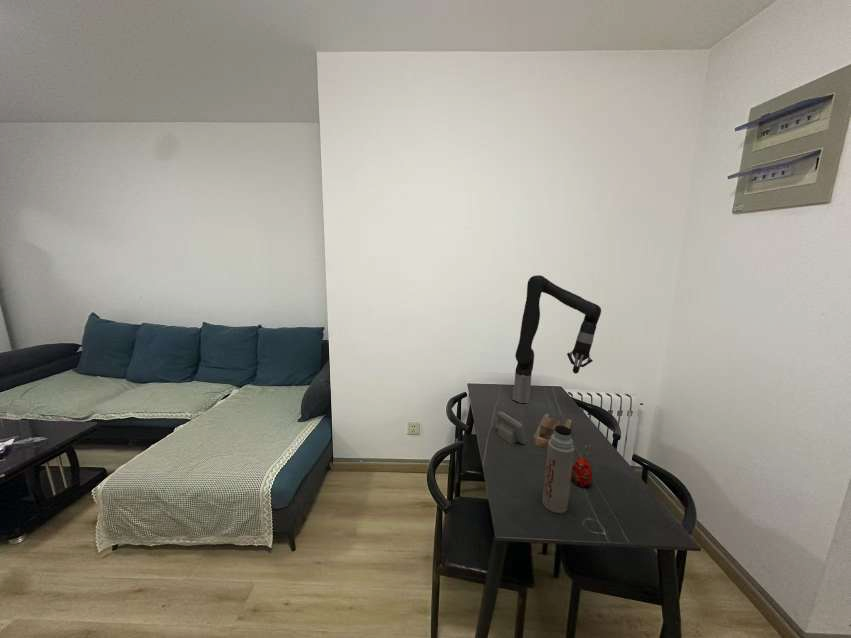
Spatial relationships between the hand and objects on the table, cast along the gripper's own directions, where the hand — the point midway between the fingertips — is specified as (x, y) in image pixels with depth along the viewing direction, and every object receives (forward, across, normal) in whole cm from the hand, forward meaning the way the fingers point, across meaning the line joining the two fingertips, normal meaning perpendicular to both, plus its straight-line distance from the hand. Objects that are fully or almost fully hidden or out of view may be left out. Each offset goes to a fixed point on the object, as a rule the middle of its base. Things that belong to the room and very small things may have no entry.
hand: (575, 373), depth 167 cm
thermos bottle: (+34, +13, -67) cm, 76 cm away
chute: (+29, 0, -20) cm, 35 cm away
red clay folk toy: (+31, +18, -49) cm, 60 cm away
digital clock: (+33, -15, -35) cm, 50 cm away
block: (+30, 0, -26) cm, 40 cm away
